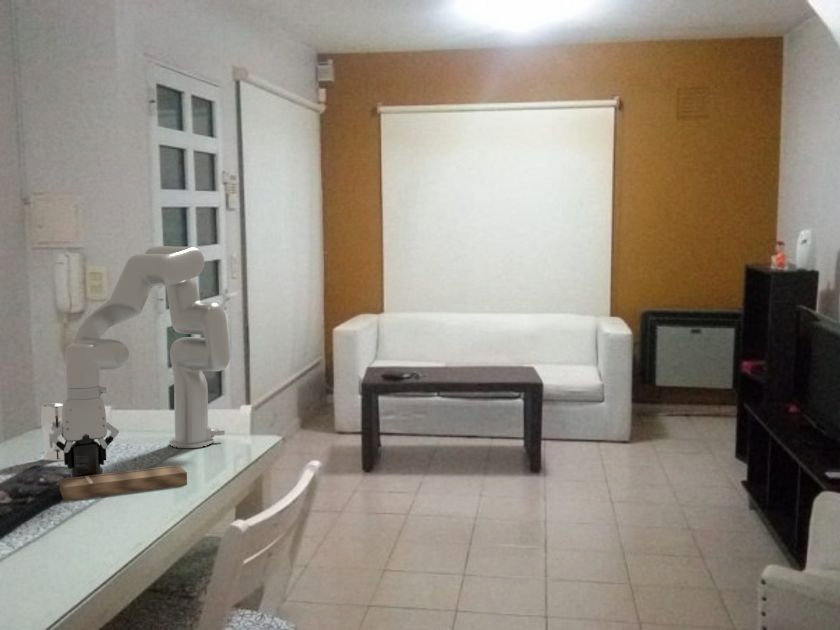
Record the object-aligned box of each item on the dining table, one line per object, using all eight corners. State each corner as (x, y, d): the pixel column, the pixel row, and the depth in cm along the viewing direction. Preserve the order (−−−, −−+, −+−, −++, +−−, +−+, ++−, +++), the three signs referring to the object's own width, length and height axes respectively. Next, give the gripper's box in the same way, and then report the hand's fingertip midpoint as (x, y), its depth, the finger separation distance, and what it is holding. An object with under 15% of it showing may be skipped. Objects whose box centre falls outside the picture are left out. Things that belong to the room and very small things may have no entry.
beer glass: (74, 456, 235) (73, 402, 234) (61, 462, 228) (60, 407, 227) (51, 455, 235) (49, 402, 234) (37, 461, 229) (35, 406, 227)
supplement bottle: (107, 478, 209) (105, 430, 208) (85, 485, 203) (84, 436, 202) (86, 474, 212) (85, 427, 211) (64, 481, 206) (63, 433, 205)
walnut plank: (179, 476, 214) (178, 464, 214) (187, 484, 208) (186, 471, 207) (59, 491, 201) (59, 478, 200) (64, 500, 194) (63, 487, 194)
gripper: (117, 388, 214) (119, 457, 215) (43, 394, 205) (45, 466, 206) (123, 393, 207) (125, 464, 209) (46, 399, 198) (48, 473, 200)
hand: (85, 464), depth 208 cm, fingers closed on supplement bottle, 6 cm apart
